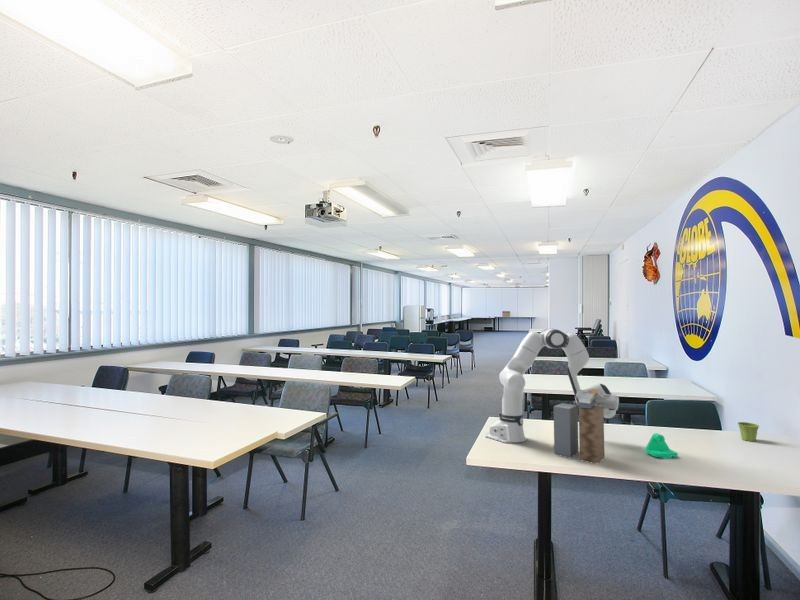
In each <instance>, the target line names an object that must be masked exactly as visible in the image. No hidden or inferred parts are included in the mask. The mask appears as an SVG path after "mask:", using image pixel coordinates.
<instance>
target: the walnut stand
mask: <svg viewBox="0 0 800 600" xmlns="http://www.w3.org/2000/svg"><path fill="white" fill-rule="evenodd" d="M604 420H605V417H604V408H603V407H602V406H595V405H594V406H593V408H592V409H583V408H578V447H579V461H582V460H583V462H586V461H588V462H587V463H591V462H592V464H595V463H598V464H599V463H600V462H602V461H603V460H604V459H605V422H604ZM602 459H603V460H602Z"/></svg>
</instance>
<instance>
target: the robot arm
mask: <svg viewBox="0 0 800 600" xmlns="http://www.w3.org/2000/svg"><path fill="white" fill-rule="evenodd" d="M544 347H545V348H548V349H555V350H557V349H562V351H564V354H565V356H566V357H567V363H568V364H567V365H566V372H567V375H568V378H569V379H568V380H569V381H570V385H571V388H572V391H573V394H574V399H575V402H576V405H578V402H579V398H580V396H581V395H582V394H583V393H590V391H591V390H598V392H596V395H597V396H596V403H595V406H602V407H603V408H604V419H605V418H606V419H612V418H614V417H615V416H616V411H618V409H619V403H620V398H619V396H618V395H615V394H612V393H611V391H610V389H608V387H607V386H606V385H605V384H603V383H598V384H595V385H592V386H590V387H587V388H584V389H582V388H581V387H580V386H581V385H580V384H579V381H578V377H577V376H578V374H579V372H580V371H581V370H582V369H583V368H584V367H585V366H586V365H587V364H588V363H589V360H590V355H589V352H588V351H587V348H586V346H585V345H584V342H583V341H582V340H581V339H580V337H578V335H577V334H576V333H573V332H568V333H565V332H563V331H561V330H560V329H555V328H546V329H544V330H542V331H540V332H537V331H529V332H528V333H527V334H526V336H524V338H523V339H522V340H521V342H520V344H519V346H518V347H517V349H516V350H515V353H514V354H513V356H512V357H511V359H510V360H509V361H508V363H507V364H506V365H505V366H504V368H503V369H502V370H501V371H500V372H499V377H498V379H499V382H500V384H501V385H502V386H503V392H502V393H503V394H502V399H501V410H502V411H501V413H499V414H498V416H497V417H499V419H497V420H495V421H494V422H493V423H492V424H491V425H490V426H489V431H488V432H486V433H485V434H484V435H485V436H484V437H485V438H488V439H491V440H495V441H497V440H498V441H497V442H500V443H501V442H502V443H505V444H506V443H509V444H510V443H523V442H526V440H527V439H526V436H525V431H524V414H523V396H524V391H525V389H524V388H525V386H526V380H525V377H524V376H523V375H524V374H525V373H526V372H527V371H528V370H529V369H530V368H531V367H532V366H533V364H534V362H535V360H536V358H537V357H538V354H539V352H540V351H541V350H542V349H543V348H544Z"/></svg>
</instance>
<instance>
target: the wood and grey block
mask: <svg viewBox="0 0 800 600" xmlns="http://www.w3.org/2000/svg"><path fill="white" fill-rule="evenodd" d="M596 392H598V390H591V391H590V393H583V394H582V395H581V396H580V398H579V402H578V404H577V405H578V409H579V408H583V409H592V408H593V406H594V405H595V403H596V396H597V395H596Z"/></svg>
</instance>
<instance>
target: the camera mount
mask: <svg viewBox="0 0 800 600" xmlns="http://www.w3.org/2000/svg"><path fill="white" fill-rule="evenodd" d="M644 450H645V451H644V452H645V453H647V454H649V455H651V456H653V457H654V458H655V457H656V458H660V457H661V459H662V458H666V459H672V457H678V452H677V451H675V450H673V449H671V448H670V447H669V446H668V443H667V442H666V441H665V436H664V435H663V434H660V433H657V432H654V433H653V434H652V435H651V437H650V439H649V441H648V442H647V445H646V446H645V449H644Z"/></svg>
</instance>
